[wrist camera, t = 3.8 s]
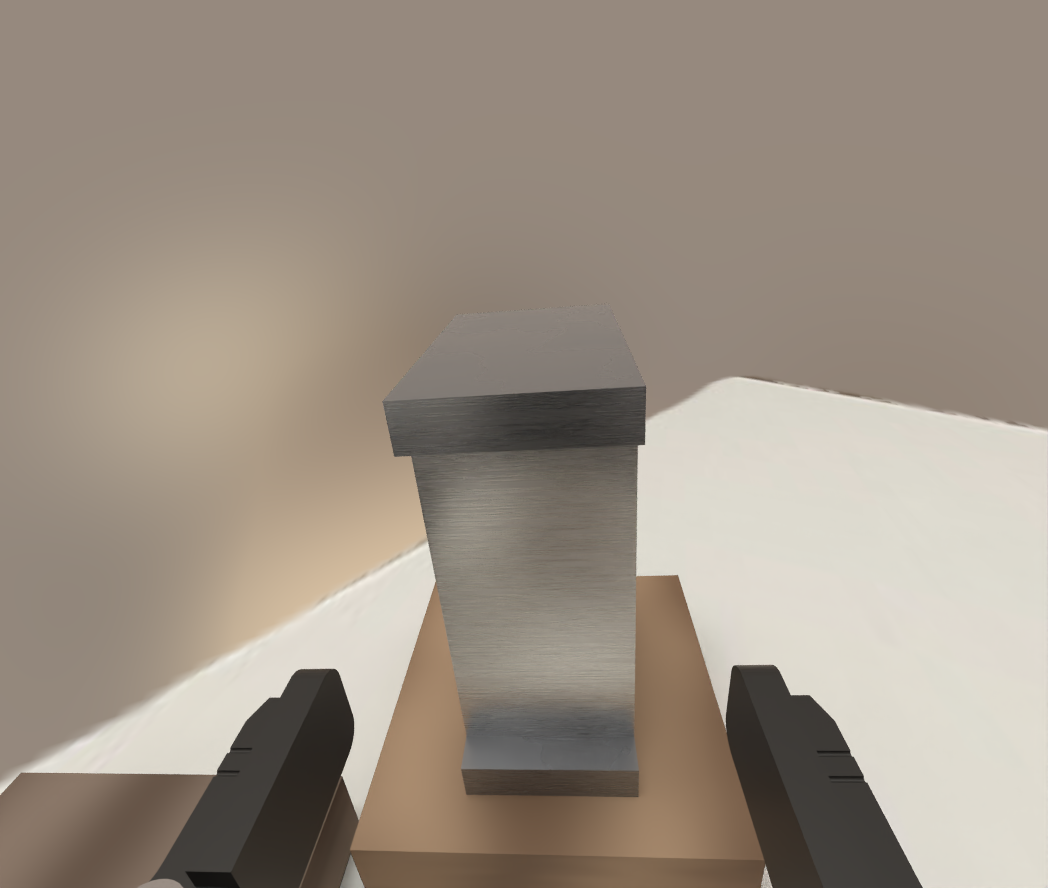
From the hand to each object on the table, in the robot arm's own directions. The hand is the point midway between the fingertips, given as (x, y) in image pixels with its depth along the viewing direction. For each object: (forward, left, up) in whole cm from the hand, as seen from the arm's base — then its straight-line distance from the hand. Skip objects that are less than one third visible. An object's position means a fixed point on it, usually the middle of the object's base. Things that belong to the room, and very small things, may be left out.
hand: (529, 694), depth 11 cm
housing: (0, -6, -7) cm, 9 cm away
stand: (0, -6, -9) cm, 11 cm away
